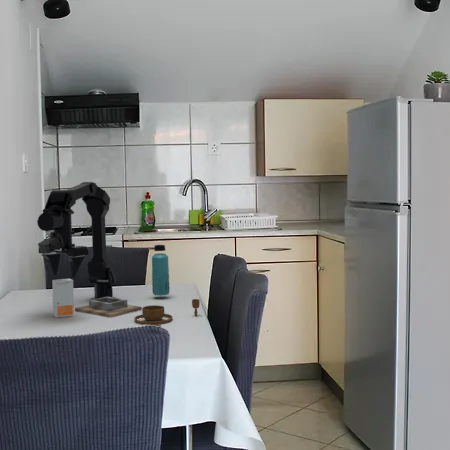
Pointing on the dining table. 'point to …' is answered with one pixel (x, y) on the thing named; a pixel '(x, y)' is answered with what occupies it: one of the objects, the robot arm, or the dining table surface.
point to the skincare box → (63, 298)
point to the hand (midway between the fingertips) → (64, 276)
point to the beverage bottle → (160, 272)
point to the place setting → (159, 314)
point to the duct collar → (108, 307)
